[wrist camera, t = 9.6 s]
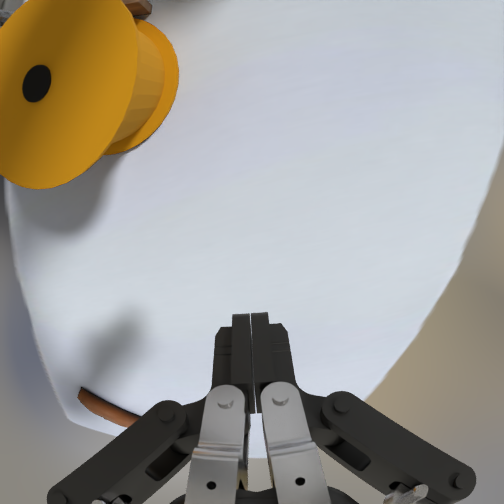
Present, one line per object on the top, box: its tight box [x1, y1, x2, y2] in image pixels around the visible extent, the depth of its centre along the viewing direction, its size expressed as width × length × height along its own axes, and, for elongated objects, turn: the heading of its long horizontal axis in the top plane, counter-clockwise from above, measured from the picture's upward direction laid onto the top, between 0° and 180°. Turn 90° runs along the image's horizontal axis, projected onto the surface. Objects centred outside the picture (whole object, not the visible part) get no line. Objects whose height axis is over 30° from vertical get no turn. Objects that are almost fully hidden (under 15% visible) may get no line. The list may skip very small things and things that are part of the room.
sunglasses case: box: [77, 387, 140, 427], centre depth 58 cm, size 18×7×7 cm
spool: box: [0, 0, 179, 189], centre depth 21 cm, size 18×18×15 cm
